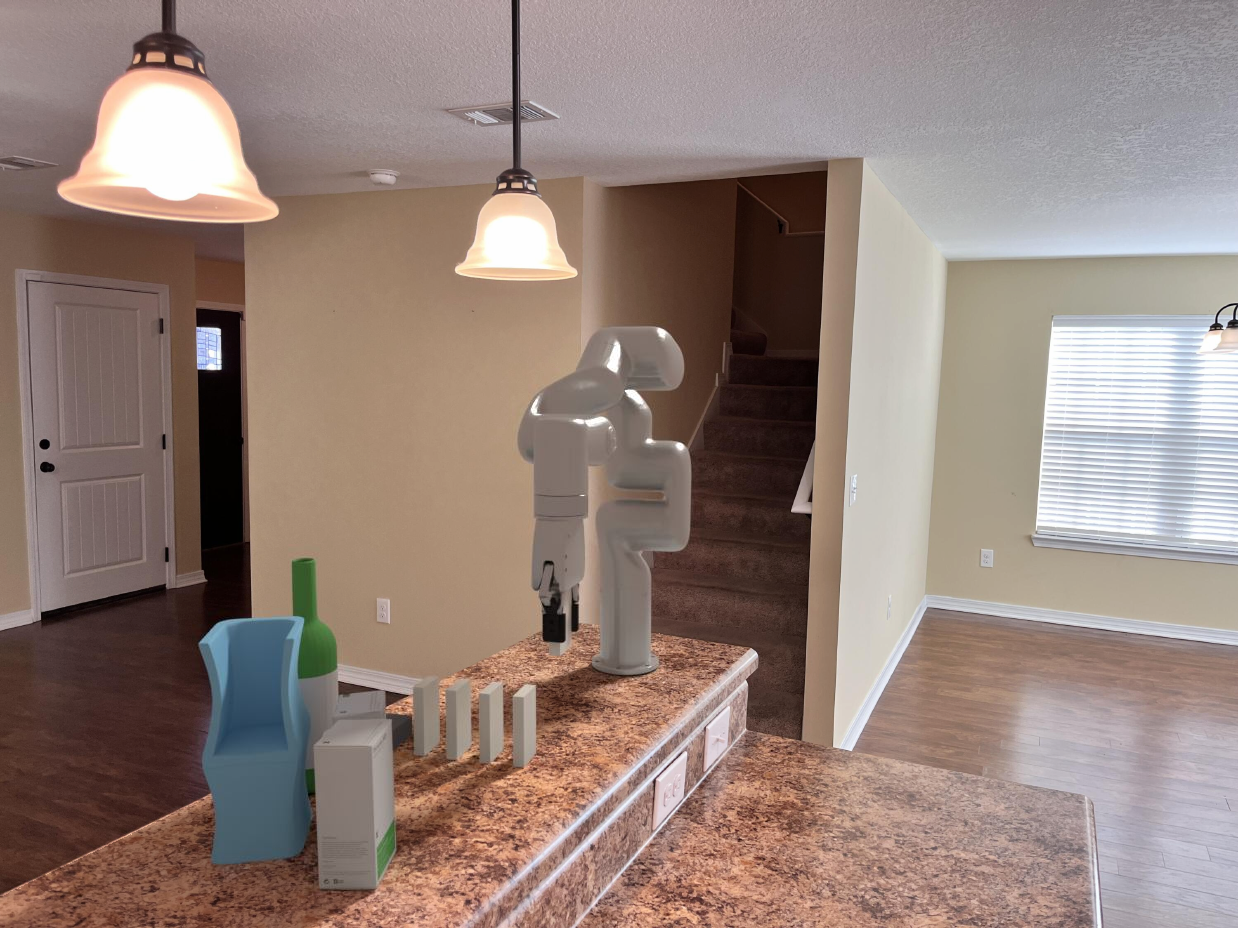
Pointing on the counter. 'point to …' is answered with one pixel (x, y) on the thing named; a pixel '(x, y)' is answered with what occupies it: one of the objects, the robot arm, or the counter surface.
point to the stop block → (400, 728)
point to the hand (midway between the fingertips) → (560, 634)
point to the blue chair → (256, 740)
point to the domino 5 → (560, 648)
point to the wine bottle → (314, 660)
